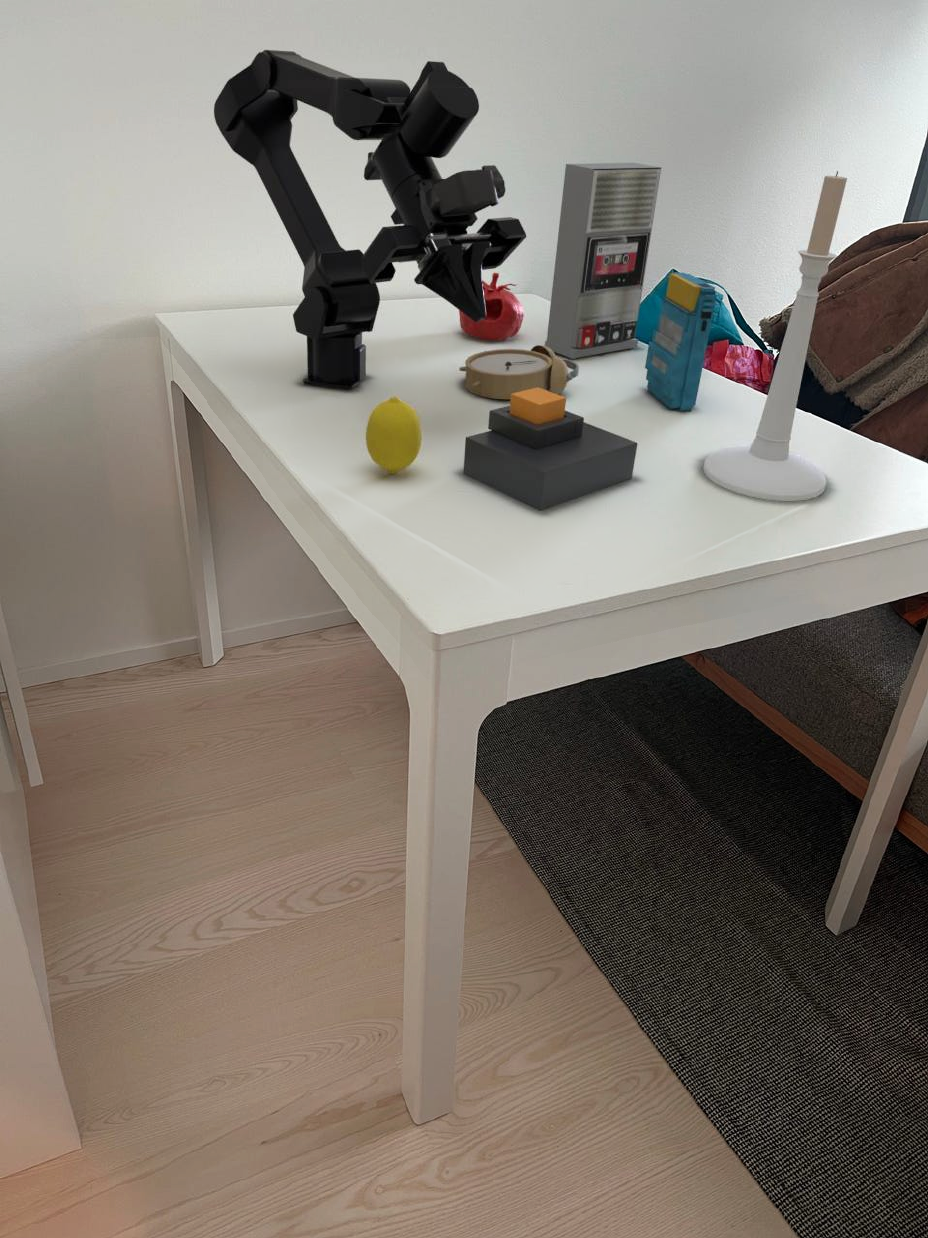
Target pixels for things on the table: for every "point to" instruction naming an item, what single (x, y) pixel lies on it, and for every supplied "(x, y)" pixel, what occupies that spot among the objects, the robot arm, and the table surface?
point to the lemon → (393, 435)
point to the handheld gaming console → (680, 342)
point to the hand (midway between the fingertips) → (481, 319)
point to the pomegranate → (495, 314)
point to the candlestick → (785, 385)
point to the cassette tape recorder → (601, 257)
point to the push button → (547, 458)
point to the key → (537, 405)
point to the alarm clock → (517, 372)
